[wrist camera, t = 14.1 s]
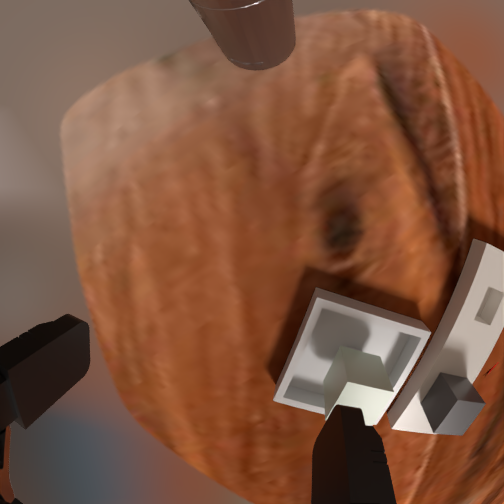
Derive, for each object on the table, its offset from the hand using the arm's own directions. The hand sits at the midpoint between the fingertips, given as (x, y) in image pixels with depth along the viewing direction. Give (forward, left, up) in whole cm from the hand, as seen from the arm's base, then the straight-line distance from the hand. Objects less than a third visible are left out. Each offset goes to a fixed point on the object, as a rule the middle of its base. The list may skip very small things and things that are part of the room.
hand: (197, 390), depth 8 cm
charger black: (+11, +29, -27) cm, 41 cm away
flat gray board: (+5, +29, -28) cm, 40 cm away
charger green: (+11, +14, -27) cm, 33 cm away
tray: (+11, +14, -28) cm, 33 cm away
